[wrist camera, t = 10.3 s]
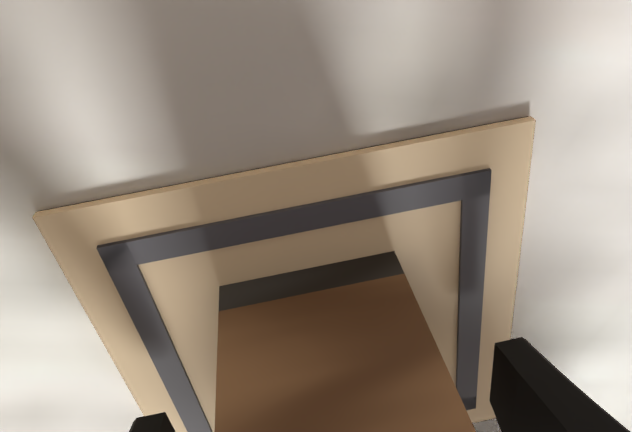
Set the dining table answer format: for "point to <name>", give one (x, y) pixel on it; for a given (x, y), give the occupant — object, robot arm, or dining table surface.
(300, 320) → the stamp
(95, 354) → the dining table surface
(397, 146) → the card sheet
